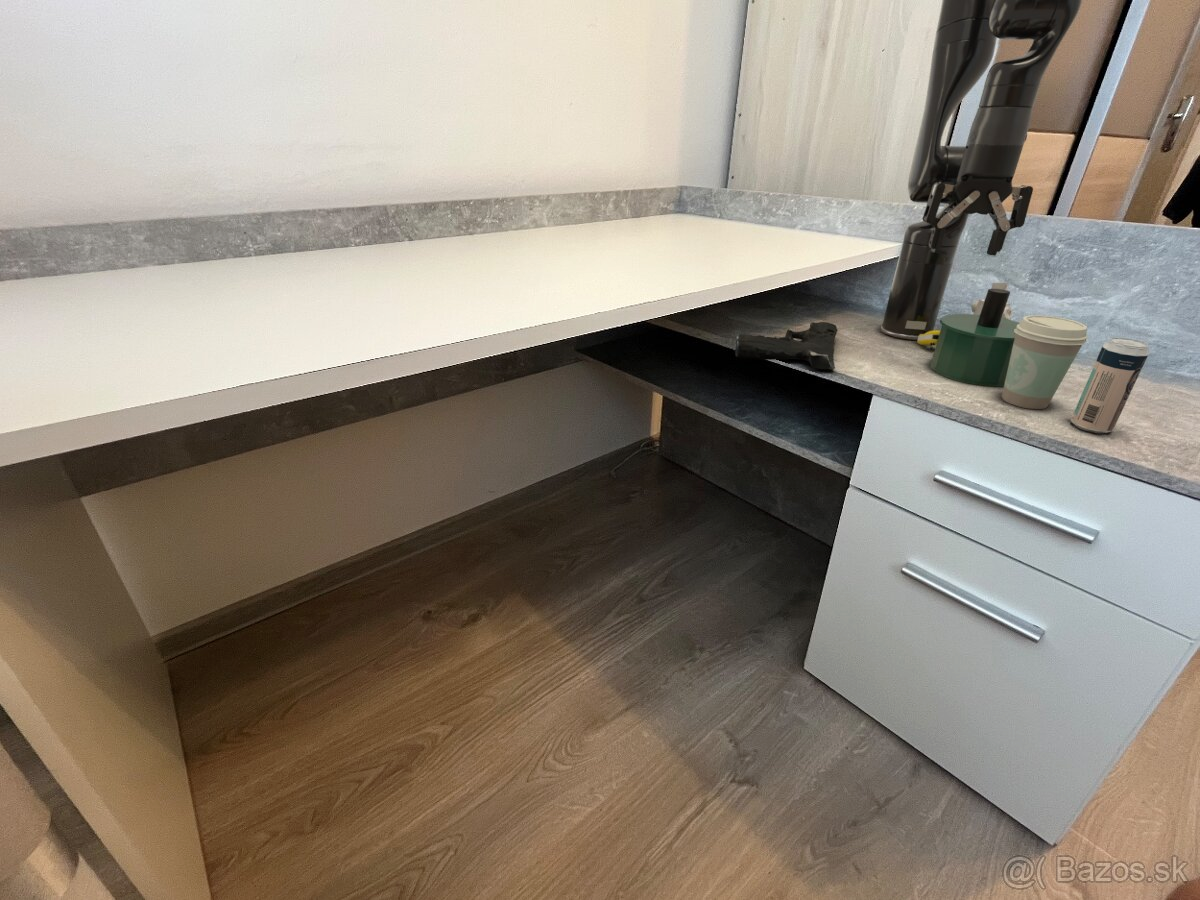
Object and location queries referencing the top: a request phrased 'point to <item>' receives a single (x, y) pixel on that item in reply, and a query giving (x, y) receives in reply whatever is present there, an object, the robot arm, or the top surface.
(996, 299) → the lid
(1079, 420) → the beer can
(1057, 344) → the coffee cup
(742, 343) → the handgun
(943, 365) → the pot
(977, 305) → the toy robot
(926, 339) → the yellow curved piece
